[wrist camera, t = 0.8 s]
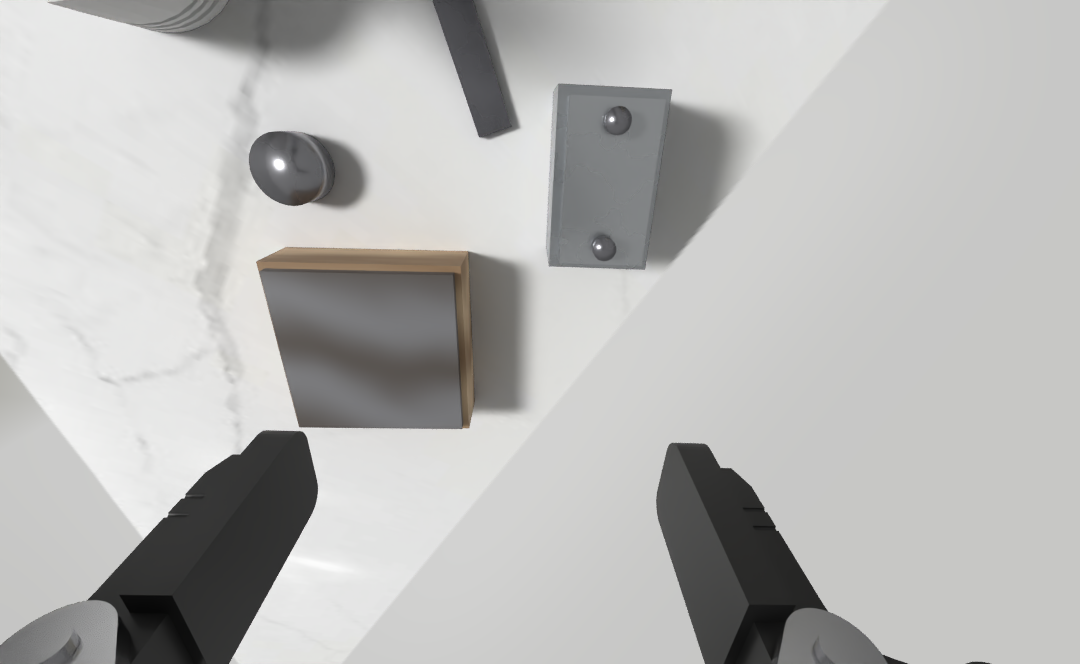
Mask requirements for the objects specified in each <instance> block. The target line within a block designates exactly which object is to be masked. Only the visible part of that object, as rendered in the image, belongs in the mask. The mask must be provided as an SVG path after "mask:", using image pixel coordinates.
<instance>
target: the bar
mask: <svg viewBox="0 0 1080 664" xmlns="http://www.w3.org/2000/svg"><path fill="white" fill-rule="evenodd" d="M433 3H434V6H435V9H436V12H437V14H438V17H439V20H440V23H441V26H442V29H443V32H444V35H445V38H446V41H447V44H448V47H449V50H450V53H451V56H452V59H453V62H454V64H455V67H456V70H457V73H458V76H459V79H460V82H461V85H462V88H463V91H464V94H465V97H466V100H467V103H468V106H469V109H470V112H471V114H472V117H473V120H474V123H475V126H476V129H477V132H478V135H479V137H482V136H485V135H488V134H491V133H494V132H497V131H499V130H502V129H505V128H508V127H511V123H510V119H509V116H508V113H507V110H506V106H505V103H504V100H503V97H502V93H501V90H500V87H499V83H498V80H497V77H496V74H495V70H494V67H493V64H492V61H491V57H490V54H489V51H488V48H487V44H486V41H485V38H484V35H483V31H482V28H481V25H480V22H479V18H478V15H477V12H476V9H475V5H474V2H473V0H433Z"/></svg>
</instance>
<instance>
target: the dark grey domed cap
mask: <svg viewBox="0 0 1080 664" xmlns="http://www.w3.org/2000/svg"><path fill="white" fill-rule="evenodd" d="M249 165H250V170H251V173H252V176H253V178H254V180H255V182H256V183H257V185H258V186H259V188H260V189H261V190H262V191H263V192H264V193H265V194H266V195H267V196H269V197H270V198H271V199H273V200H275V201H277V202H279V203H282V204H285V205H291V206H298V205H303V204H306V203H309V202H312V201H315V200H318V199H320V198H322V197H324V196H325V195H326V194H327V193H328V192H329V191H330V189H331V188H332V186H333V183H334V178H335V171H334V165H333V162H332V159H331V157H330V155H329V153H328V152H327V150H326V149H325V147H324V146H323V145H322V144H321V143H320V142H319V141H317V140H316V139H315V138H313V137H312V136H310V135H308V134H305V133H302V132H296V131H279V132H269V133H266V134H263V135H262V136H260V137H259V138H258V139H257V140H256V141H255V142H254V144H253V145H252V147H251V150H250V154H249Z"/></svg>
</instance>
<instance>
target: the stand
mask: <svg viewBox="0 0 1080 664" xmlns="http://www.w3.org/2000/svg"><path fill="white" fill-rule="evenodd" d="M256 263H257V267H258V270H259V274H260V278H261V282H262V286H263V290H264V293H265V297H266V301H267V305H268V309H269V313H270V317H271V320H272V324H273V328H274V332H275V336H276V340H277V343H278V347H279V351H280V355H281V359H282V363H283V367H284V370H285V374H286V378H287V382H288V386H289V390H290V394H291V397H292V401H293V405H294V409H295V413H296V417H297V420H298V424H299V427H322V428H419V429H462V428H469V426H470V421H471V417H472V412H473V407H474V402H475V398H474V374H473V351H472V328H471V305H470V281H469V258H468V251H428V250H385V249H342V248H298V247H285V248H283V249H281V250H279V251H277V252H275V253H273V254H271V255H269V256H267V257H265V258H263V259H261V260H259V261H257V262H256Z"/></svg>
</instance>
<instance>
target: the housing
mask: <svg viewBox="0 0 1080 664" xmlns="http://www.w3.org/2000/svg"><path fill="white" fill-rule="evenodd" d="M671 94H672V89H653V88H634V87H614V86H594V85H575V84H558V85H557V87H556V88H555V90H554V91H553V110H552V131H551V151H550V172H549V192H548V213H547V233H546V249H547V257H548V264H549V266H557V267H585V268H614V269H642V270H645V265H646V259H647V252H648V246H649V239H650V232H651V226H652V219H653V213H654V206H655V199H656V193H657V186H658V180H659V173H660V166H661V160H662V153H663V147H664V140H665V133H666V127H667V120H668V114H669V107H670V101H671Z"/></svg>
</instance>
